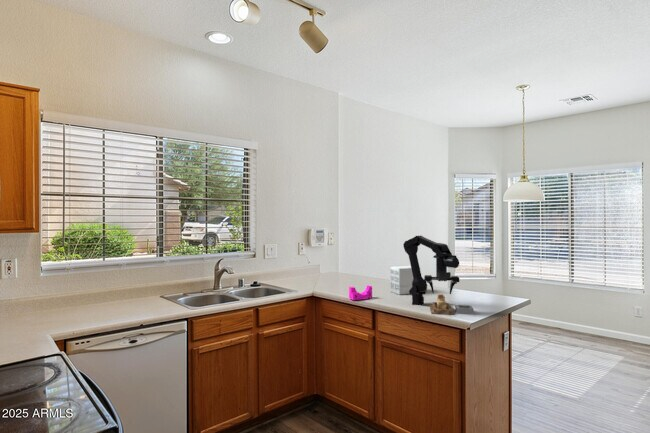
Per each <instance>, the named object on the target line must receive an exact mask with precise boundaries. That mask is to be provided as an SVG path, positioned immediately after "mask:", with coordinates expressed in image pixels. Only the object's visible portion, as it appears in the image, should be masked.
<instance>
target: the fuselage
mask: <svg viewBox="0 0 650 433" xmlns="http://www.w3.org/2000/svg"><path fill="white" fill-rule="evenodd" d="M443 295H444V294H440V293H439V294H437V298H436V302H437V308H438V309H444V310H446V303H447V301H446V298H445V299H444V298H443Z"/></svg>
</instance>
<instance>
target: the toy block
mask: <svg viewBox="0 0 650 433" xmlns="http://www.w3.org/2000/svg"><path fill="white" fill-rule="evenodd" d="M348 298H349V300H352V301H359V300H368V299H373V286H372V285H366V288H365V289H364V291H362V292H358V291H357V289H356V287H354V286H348Z"/></svg>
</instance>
